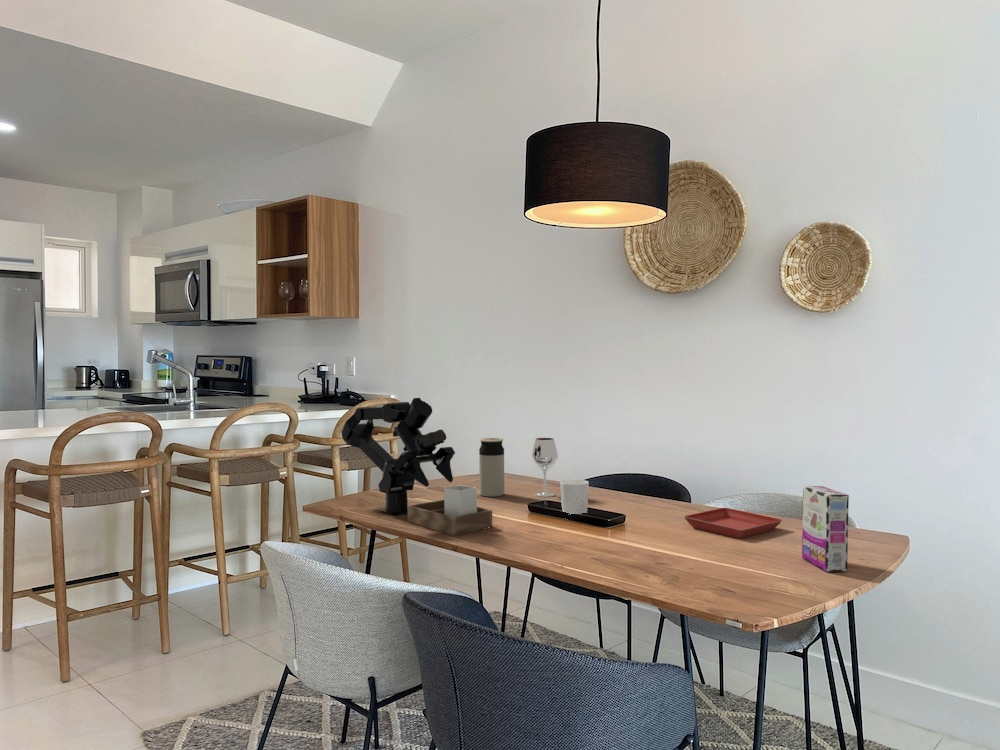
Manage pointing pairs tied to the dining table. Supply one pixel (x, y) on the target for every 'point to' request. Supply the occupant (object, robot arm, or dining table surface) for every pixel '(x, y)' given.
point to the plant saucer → (732, 522)
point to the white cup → (574, 496)
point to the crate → (448, 518)
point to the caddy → (460, 500)
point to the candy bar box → (825, 528)
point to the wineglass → (544, 459)
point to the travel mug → (491, 467)
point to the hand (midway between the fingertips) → (440, 483)
